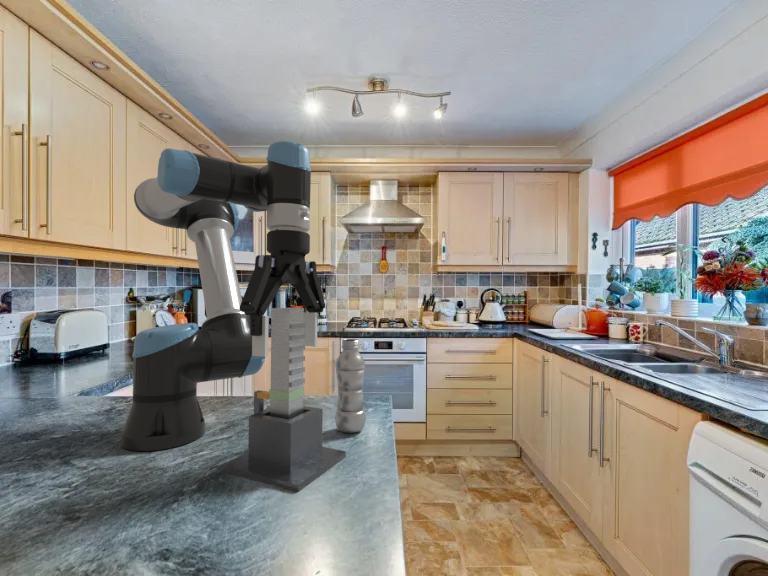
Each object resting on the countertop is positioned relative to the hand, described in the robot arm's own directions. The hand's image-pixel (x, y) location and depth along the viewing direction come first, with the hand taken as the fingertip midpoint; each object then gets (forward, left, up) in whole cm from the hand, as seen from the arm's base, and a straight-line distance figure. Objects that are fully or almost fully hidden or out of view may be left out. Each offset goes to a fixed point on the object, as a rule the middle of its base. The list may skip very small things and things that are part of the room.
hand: (287, 350), depth 68 cm
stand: (0, 0, -20) cm, 20 cm away
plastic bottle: (+2, +19, -20) cm, 28 cm away
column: (0, 0, -12) cm, 12 cm away
